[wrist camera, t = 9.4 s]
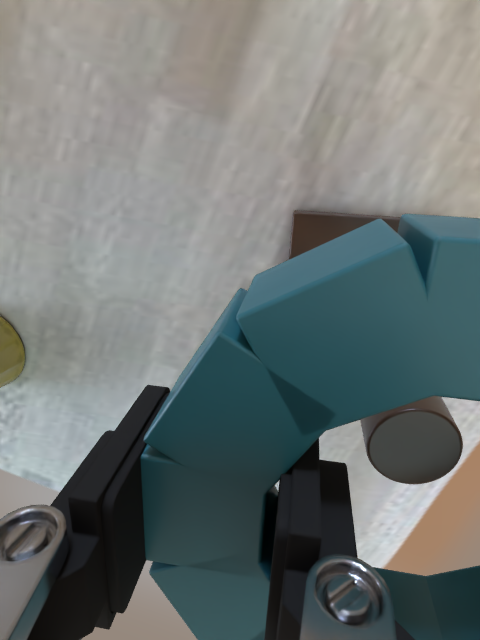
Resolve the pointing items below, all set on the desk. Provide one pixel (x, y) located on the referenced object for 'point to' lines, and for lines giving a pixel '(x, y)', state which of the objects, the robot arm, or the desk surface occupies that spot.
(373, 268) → the ring
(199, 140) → the desk surface
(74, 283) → the desk surface
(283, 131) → the desk surface
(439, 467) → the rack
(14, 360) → the vase
